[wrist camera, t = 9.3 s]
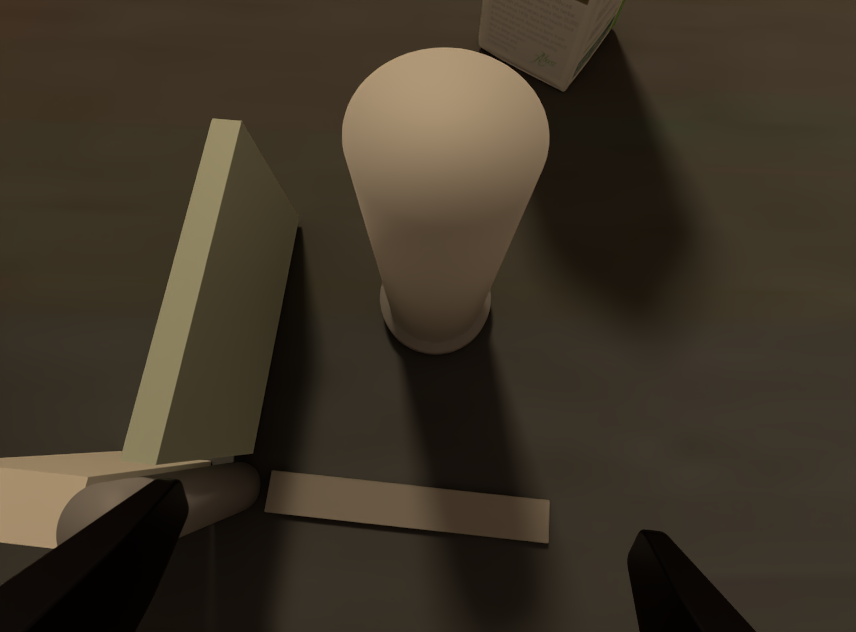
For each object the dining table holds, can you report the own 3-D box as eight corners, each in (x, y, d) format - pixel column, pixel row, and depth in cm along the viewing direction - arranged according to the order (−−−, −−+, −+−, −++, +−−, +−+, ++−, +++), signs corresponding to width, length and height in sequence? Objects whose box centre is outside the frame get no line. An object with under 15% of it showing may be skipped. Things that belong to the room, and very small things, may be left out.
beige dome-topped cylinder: (504, 276, 21) (601, 79, 9) (463, 372, 20) (517, 285, 8) (408, 237, 21) (386, 3, 10) (363, 328, 20) (277, 187, 9)
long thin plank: (107, 498, 18) (-130, 546, 10) (120, 448, 19) (-96, 459, 11) (546, 547, 18) (638, 635, 10) (548, 494, 18) (636, 540, 11)
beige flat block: (252, 453, 18) (155, 465, 12) (196, 447, 18) (69, 455, 12) (299, 217, 21) (241, 121, 15) (250, 213, 21) (171, 114, 15)
